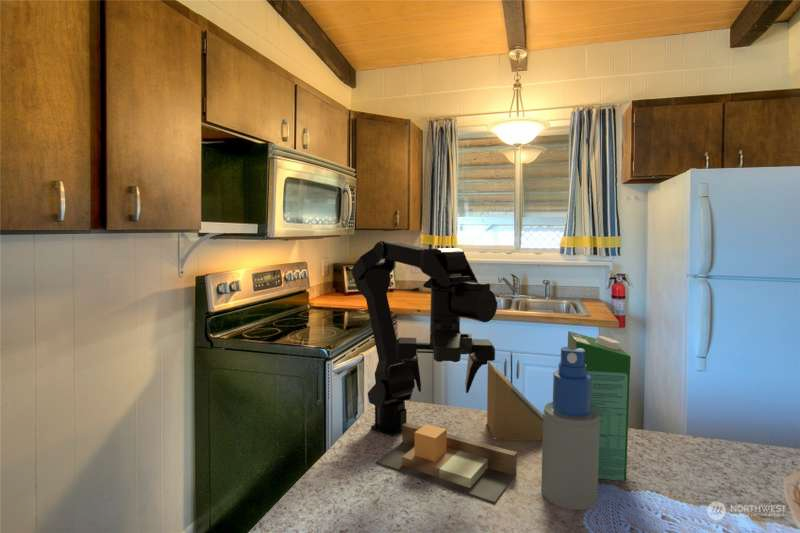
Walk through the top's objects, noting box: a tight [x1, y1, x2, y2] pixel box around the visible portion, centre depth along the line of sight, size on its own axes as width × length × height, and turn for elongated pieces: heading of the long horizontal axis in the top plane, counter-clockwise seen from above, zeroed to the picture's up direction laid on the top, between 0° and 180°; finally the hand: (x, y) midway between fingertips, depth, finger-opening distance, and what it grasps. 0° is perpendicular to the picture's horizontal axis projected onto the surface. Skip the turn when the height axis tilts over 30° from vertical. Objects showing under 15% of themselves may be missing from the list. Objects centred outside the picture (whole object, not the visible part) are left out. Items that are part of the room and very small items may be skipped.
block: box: [415, 423, 448, 462], centre depth 85 cm, size 4×4×4 cm
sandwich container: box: [486, 361, 543, 441], centre depth 99 cm, size 9×15×15 cm, turn 90°
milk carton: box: [567, 330, 632, 482], centre depth 83 cm, size 9×9×25 cm
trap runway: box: [375, 422, 518, 504], centre depth 83 cm, size 24×11×4 cm, turn 57°
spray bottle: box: [540, 346, 600, 511], centre depth 74 cm, size 9×9×25 cm
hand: (443, 391), depth 87 cm, fingers open, 9 cm apart
